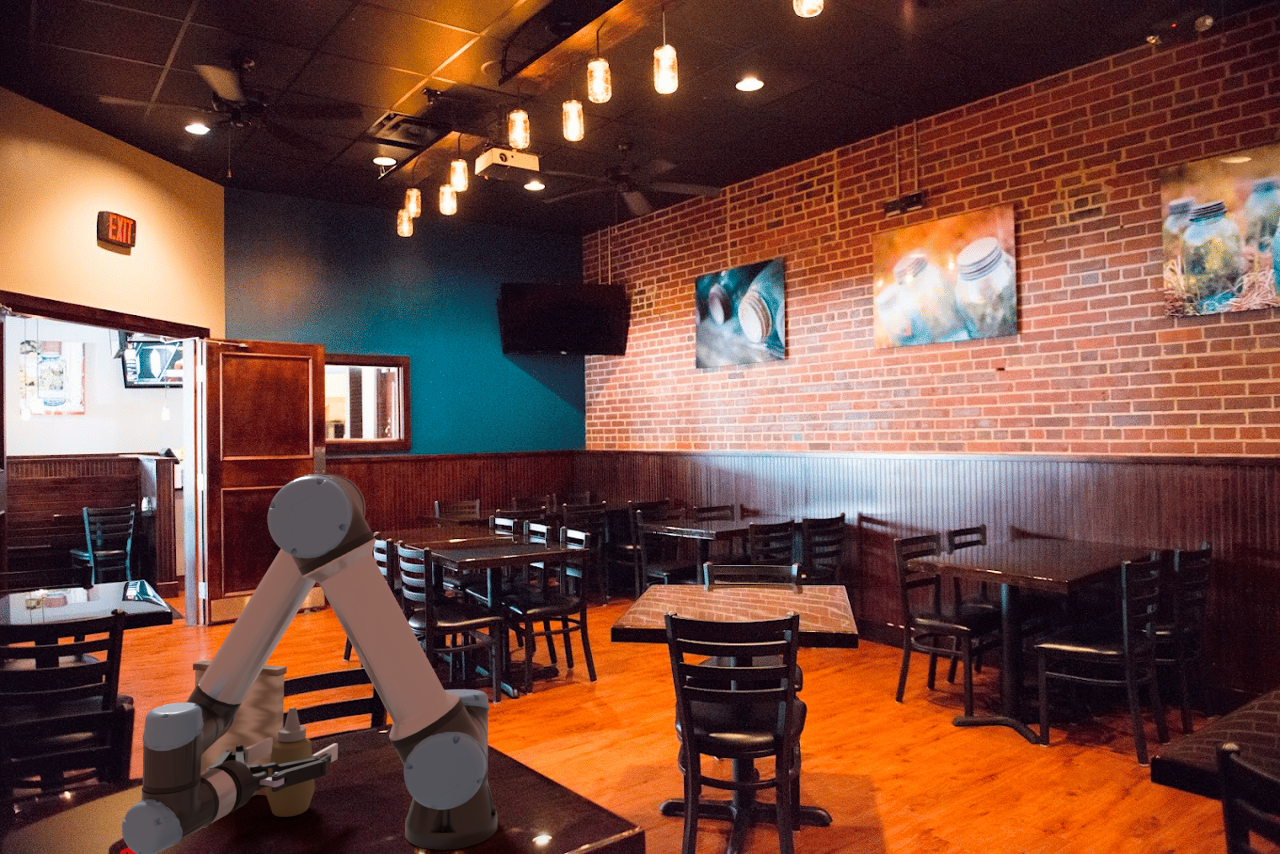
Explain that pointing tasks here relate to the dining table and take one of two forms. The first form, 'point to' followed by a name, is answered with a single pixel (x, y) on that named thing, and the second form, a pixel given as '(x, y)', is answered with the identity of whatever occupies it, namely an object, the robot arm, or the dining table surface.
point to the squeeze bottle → (288, 750)
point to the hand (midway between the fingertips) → (303, 747)
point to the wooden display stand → (251, 716)
